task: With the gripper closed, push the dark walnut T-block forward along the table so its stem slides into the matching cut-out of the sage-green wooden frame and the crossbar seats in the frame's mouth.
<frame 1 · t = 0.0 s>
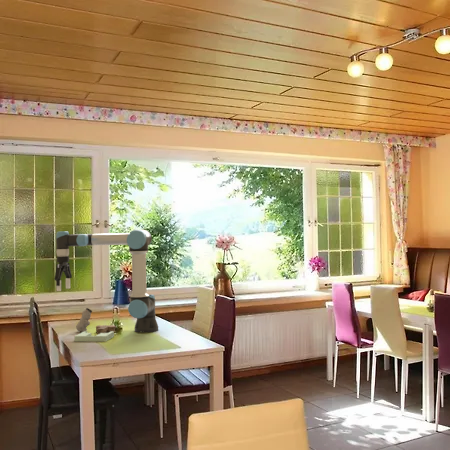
hand: (63, 289, 332), 28 cm above the table, fingers open, 13 cm apart
t block: (104, 333, 332), on the table
slot frame: (94, 338, 316), on the table
figurine: (84, 331, 340), on the table
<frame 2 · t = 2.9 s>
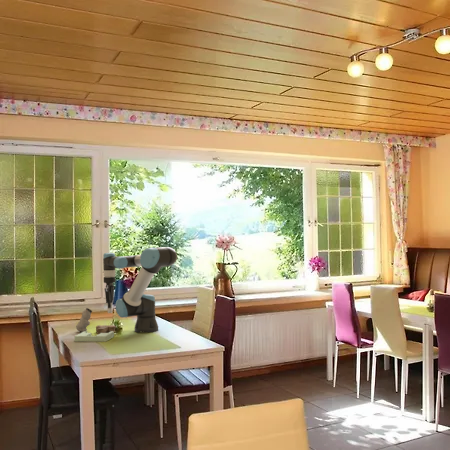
hand: (110, 312, 344), 11 cm above the table, fingers closed
nothing on the table moved.
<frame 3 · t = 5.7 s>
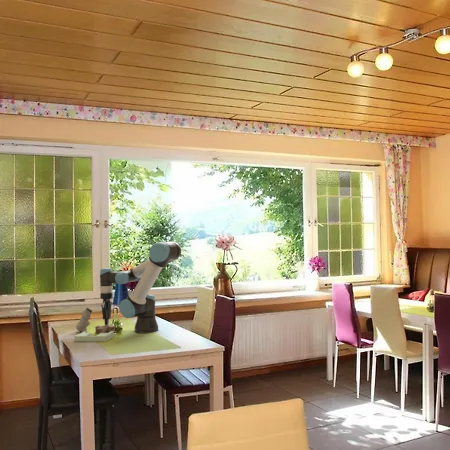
hand: (107, 329, 337), 2 cm above the table, fingers closed
t block: (103, 333, 331), on the table, touching gripper
everything else where it was.
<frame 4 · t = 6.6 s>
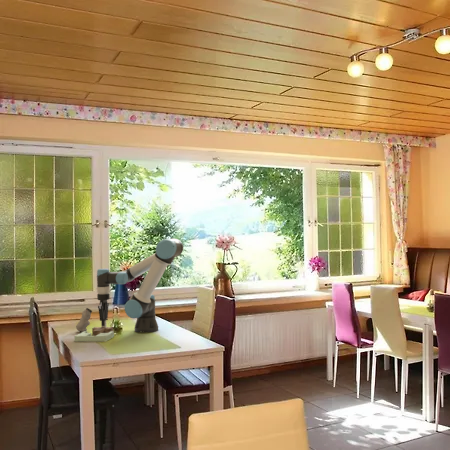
hand: (103, 330, 332), 2 cm above the table, fingers closed
t block: (100, 335, 325), on the table, touching gripper
everything else where it was.
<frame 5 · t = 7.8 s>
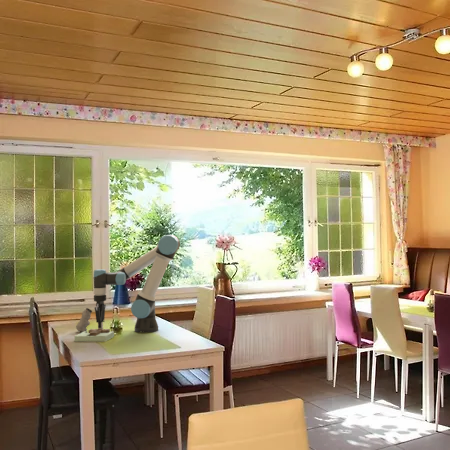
hand: (100, 332, 326), 2 cm above the table, fingers closed
t block: (96, 337, 319), on the table, touching gripper
everything else where it was.
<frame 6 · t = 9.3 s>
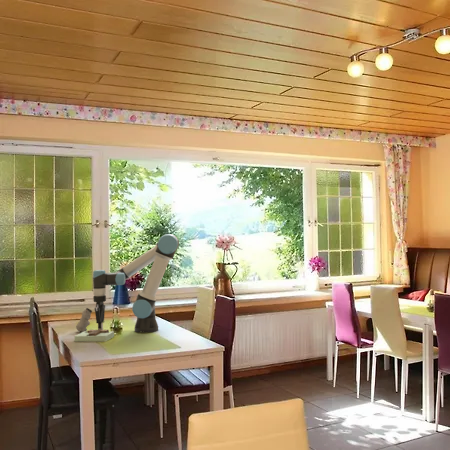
hand: (100, 333, 325), 1 cm above the table, fingers closed
t block: (95, 338, 318), on the table
everything else where it was.
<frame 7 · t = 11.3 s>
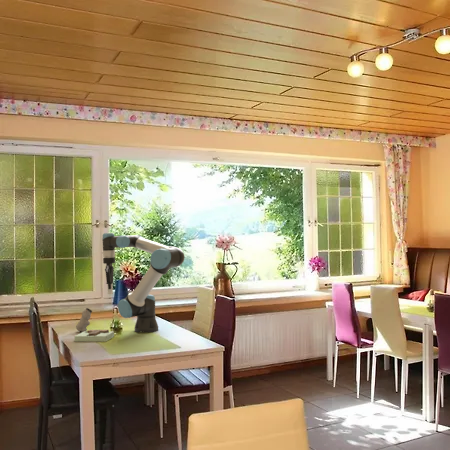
hand: (110, 294, 338), 24 cm above the table, fingers closed
nothing on the table moved.
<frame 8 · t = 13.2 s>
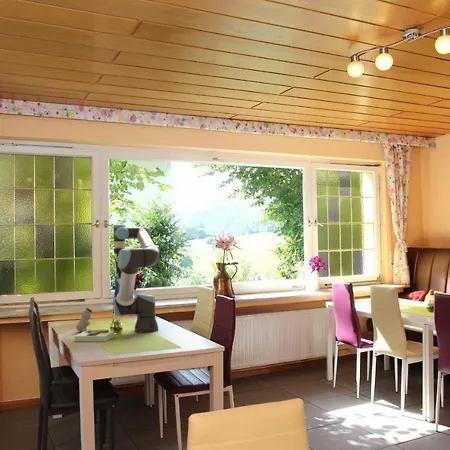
hand: (120, 283, 351), 29 cm above the table, fingers closed
nothing on the table moved.
at the end: t block 0.6 cm from the target spot on the slot frame, point 0.0 cm above the slot frame's base; t block tilted 0° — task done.
